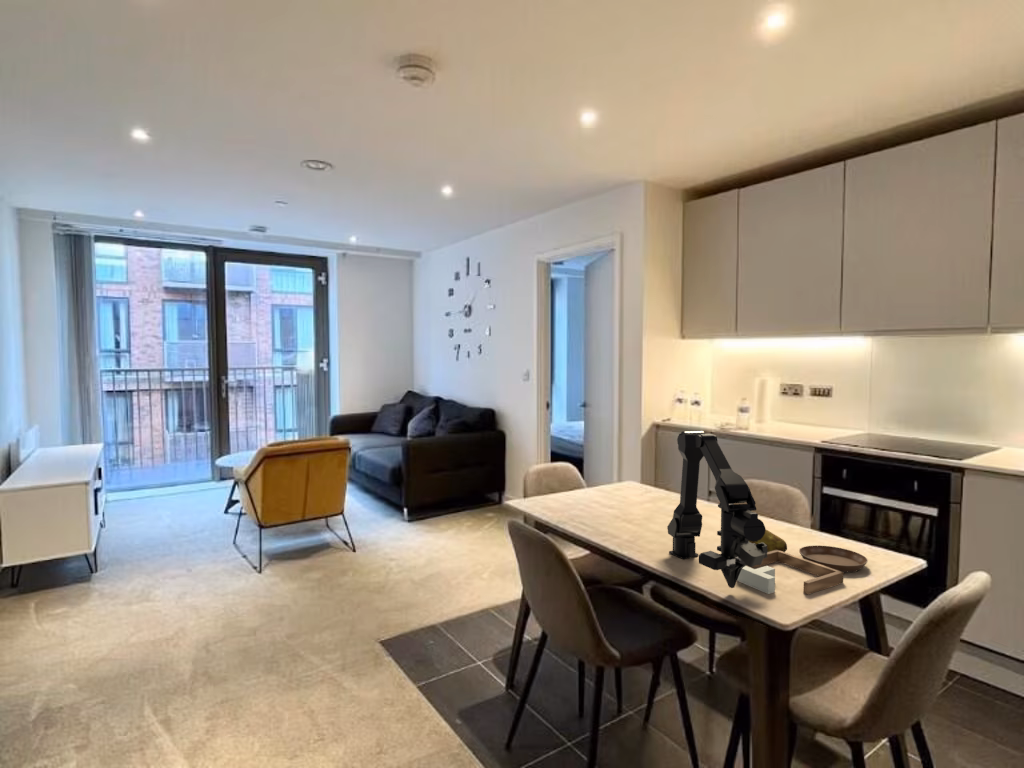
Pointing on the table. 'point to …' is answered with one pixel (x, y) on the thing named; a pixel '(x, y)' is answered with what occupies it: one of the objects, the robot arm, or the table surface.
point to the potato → (772, 542)
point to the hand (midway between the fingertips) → (731, 587)
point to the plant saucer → (834, 557)
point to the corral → (826, 574)
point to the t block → (758, 578)
